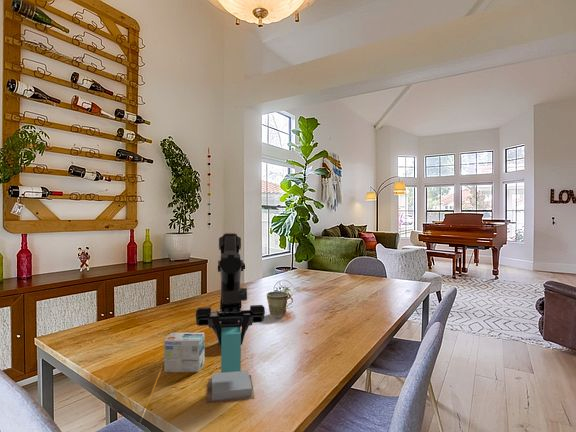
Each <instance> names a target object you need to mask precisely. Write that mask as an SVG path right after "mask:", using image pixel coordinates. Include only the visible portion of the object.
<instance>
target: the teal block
mask: <svg viewBox="0 0 576 432" xmlns="http://www.w3.org/2000/svg"><path fill="white" fill-rule="evenodd" d="M241 346H242V345H241V327H225V328H222V333H221V346H220V349H221V351H220V352H221V354H220V355H221V358H220V359H221V360H220V361H221V362H220V363H221V364H220V366H221V367H220V369H221V370H220V372H221V373H225V372H237V371H241V369H242V366H241V365H242V364H241V363H242V362H241V361H242V359H241V358H242V351H241V350H242V347H241Z"/></svg>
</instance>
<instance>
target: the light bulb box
mask: <svg viewBox="0 0 576 432" xmlns="http://www.w3.org/2000/svg"><path fill="white" fill-rule="evenodd" d="M163 345H164V346H163V348H164V349H163V361H164V363H163V367H164V368H163V371H164V372H165V373H200V372H201V370H202V368H203V366H204V365H205V332H204V331H203V332H200V331H199V332H170V333H169V334H168V335H167V337H166V338H165V339H164V341H163Z"/></svg>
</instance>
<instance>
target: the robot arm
mask: <svg viewBox="0 0 576 432" xmlns="http://www.w3.org/2000/svg"><path fill="white" fill-rule="evenodd" d="M241 248H242V238H241V236H238V234H237V233H233V232H231V233H229V232H228V233H227V232H226V233H223V235H222V236H220V237H219V238H218V251H220V260H218V261H217V272H218V273H220V302H219V303H220V304H219V305H220V306H219V311H218V310H212V307H209V306H206V307H205V306H204V307H198V308H196V311H195V321H196V323H195V324H196V325H197V326H199V327H203V326H204V327H205V326H208V328H209V329H212V330H213V333H215V336H216V339H217V342H218V343H217V345H218V346H219V347H221V333H222V328H225V327H240V330H241V346H242V345H243V342H244V339H245V335H246V333H247V331H248V329H249V327H251V326H253V324H256V323H263V322H264V320H265V315H266V310H265V309H266V308H265V306H264V305H263V304H254V305H253V304H252V305H250V307H249V309H246V310H245V309H244V310H242V306H243V305H242V302H243V301H247V300H248V291H247V290H248V288H247V287H244V288H243V287H242V288H241V275H242V272H244V270H246V264H245V262H244V260H243V259H241V254H240V250H242V249H241Z"/></svg>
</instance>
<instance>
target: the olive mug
mask: <svg viewBox="0 0 576 432" xmlns="http://www.w3.org/2000/svg"><path fill="white" fill-rule="evenodd" d="M266 298H267V299H266V301H267V304H268V310H269V315H270V316H271V317H272V318H277V319H278V318H283V317H285V314H286V309H287V308H288V307H289V306H290V305H291V304H292V303H294V300H293V298H292V297H291V296H289V293H288V292H286V291H279V290H274V291H268V292H267V293H266ZM289 299H291V302H290V303H288V300H289ZM287 303H288V304H287Z"/></svg>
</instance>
